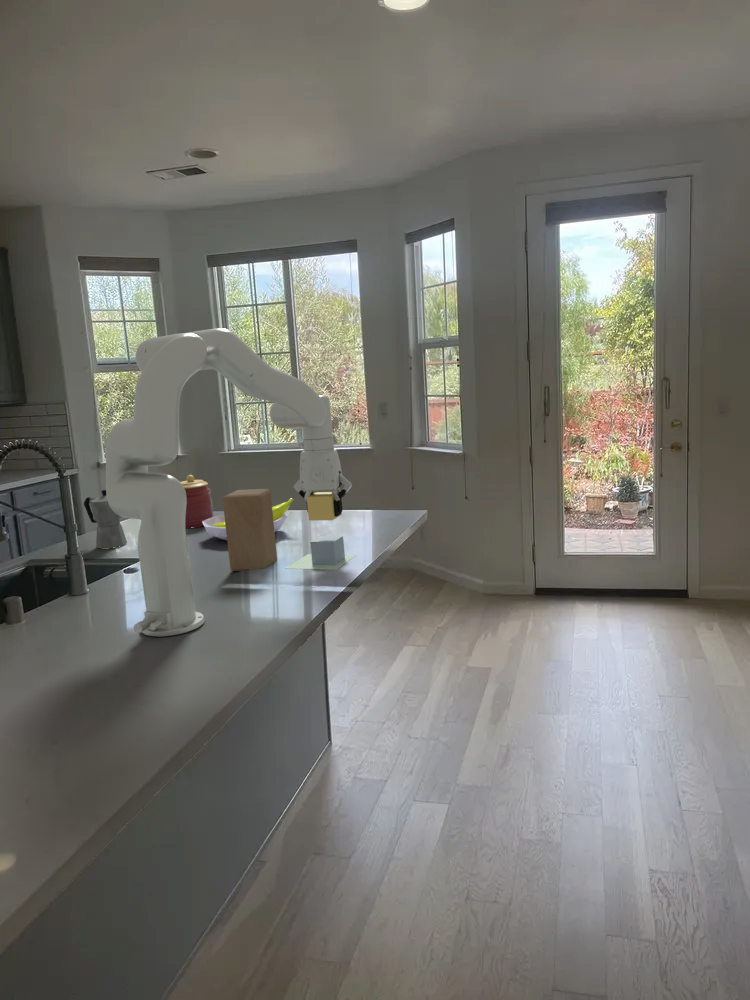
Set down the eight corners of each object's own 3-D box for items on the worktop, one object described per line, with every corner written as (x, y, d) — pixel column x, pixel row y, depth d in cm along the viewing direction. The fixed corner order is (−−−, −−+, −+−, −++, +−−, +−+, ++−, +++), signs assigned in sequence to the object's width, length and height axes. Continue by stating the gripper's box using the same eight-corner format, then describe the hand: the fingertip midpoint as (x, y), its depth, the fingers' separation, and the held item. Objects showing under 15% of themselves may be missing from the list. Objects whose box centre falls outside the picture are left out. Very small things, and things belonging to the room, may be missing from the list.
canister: (222, 522, 258) (217, 472, 255) (195, 530, 247) (189, 478, 244) (196, 520, 265) (190, 471, 262) (168, 528, 254) (162, 477, 251)
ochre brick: (332, 520, 183) (330, 496, 182) (308, 520, 185) (306, 497, 184) (341, 514, 189) (339, 491, 188) (319, 514, 191) (316, 492, 190)
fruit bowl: (187, 546, 223) (183, 510, 221) (231, 526, 248) (228, 493, 246) (270, 547, 214) (267, 509, 212) (308, 526, 239) (304, 492, 237)
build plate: (336, 573, 181) (336, 569, 181) (285, 572, 185) (285, 568, 185) (356, 558, 194) (356, 554, 194) (308, 557, 198) (308, 554, 198)
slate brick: (335, 565, 185) (333, 541, 184) (312, 564, 187) (310, 541, 186) (344, 558, 191) (343, 535, 190) (322, 558, 193) (320, 535, 192)
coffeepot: (138, 542, 234) (131, 487, 231) (117, 550, 225) (109, 492, 222) (101, 541, 240) (93, 487, 237) (79, 548, 232) (71, 492, 228)
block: (266, 572, 187) (258, 494, 184) (229, 572, 189) (220, 496, 186) (278, 561, 197) (271, 488, 193) (243, 562, 199) (235, 489, 195)
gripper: (280, 448, 183) (288, 518, 186) (345, 445, 177) (351, 518, 180) (293, 444, 190) (300, 512, 193) (356, 442, 184) (362, 512, 187)
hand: (325, 514), depth 187 cm, fingers closed on ochre brick, 6 cm apart
